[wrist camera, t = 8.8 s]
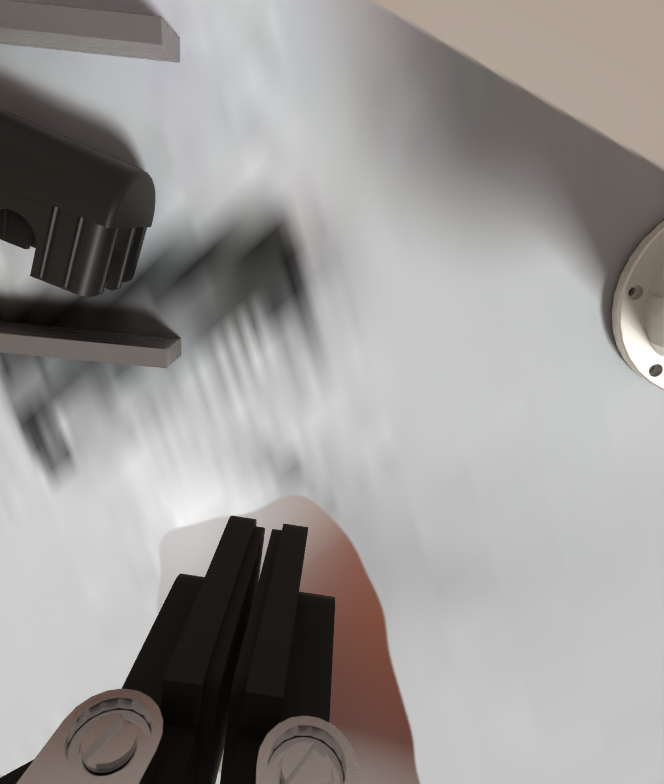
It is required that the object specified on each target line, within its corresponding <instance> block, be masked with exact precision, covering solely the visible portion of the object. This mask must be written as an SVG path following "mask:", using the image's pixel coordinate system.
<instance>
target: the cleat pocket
mask: <svg viewBox="0 0 664 784" xmlns="http://www.w3.org/2000/svg"><path fill="white" fill-rule="evenodd" d="M0 43H1V44H11V45H20V46H29V47H39V48H48V49H58V50H67V51H77V52H86V53H95V54H105V55H114V56H124V57H133V58H142V59H152V60H161V61H171V62H180V37H179V36H178V35H177V34H176V33H175V32H174V31H173V29H172V28H171V27H170V26H169V25H168V24H167V23H166V22H165V20H164V19H163V18H162V17H158V16H149V15H140V14H130V13H121V12H112V11H103V10H93V9H84V8H75V7H65V6H56V5H47V4H38V3H28V2H19V1H10V0H0ZM0 352H3V353H14V354H24V355H35V356H45V357H56V358H66V359H76V360H87V361H97V362H108V363H118V364H129V365H139V366H150V367H160V368H167V367H168V366H169V365H171V364H172V363H173V362H174V361H175V360H176V359H178V358H179V357H180V356H181V338H172V337H161V336H151V335H141V334H130V333H120V332H110V331H99V330H89V329H79V328H68V327H58V326H48V325H37V324H27V323H17V322H6V321H0Z"/></svg>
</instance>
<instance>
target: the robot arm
mask: <svg viewBox="0 0 664 784" xmlns="http://www.w3.org/2000/svg"><path fill="white" fill-rule="evenodd" d="M630 289H631V292H630V293H629V290H630ZM612 327H613V334H614V337H615V341H616V344H617V348H618V349H619V351H620V353H621V355H622V357H623V359H624V360H625V362H626V363H627V364H628V365H629V366H630V368H631V369H632V370H633V371H634V372H635V373H636V374H637V375H639V376H640V377H642V378H643V379H644V380H646V381H647V382H649V383H651V384H653V385H655V386H657V387H659V388H661V389H663V390H664V221H663V222H661V223H660V224H659V225H658V226H657V227H655V228H654V229H653V230H652V231H651V232H650V233H649V234H648V235H647V236H646V237H645V238H644V239H643V240H642V242H641V243H640V244H639V246H638V247H637V248H636V250H635V251H634V252H633V254H632V255H631V256H630V258H629V260H628V262H627V264H626V266H625V268H624V269H623V271H622V273H621V275H620V278H619V281H618V284H617V287H616V290H615V293H614V299H613V307H612ZM264 533H265V528H263V527H256V519H250V518H243V517H237V516H230V518H229V520H228V523H227V525H226V528H225V530H224V532H223V535H222V537H221V540H220V542H219V545H218V547H217V549H216V552H215V554H214V557H213V559H212V561H211V564H210V566H209V569H208V571H207V574H206V576H205V577H199V576H192V575H186V574H180V575H178V577H177V578H176V580H175V582H174V584H173V586H172V588H171V590H170V592H169V594H168V596H167V598H166V600H165V602H164V604H163V606H162V608H161V610H160V612H159V614H158V616H157V618H156V620H155V622H154V624H153V626H152V628H151V630H150V632H149V634H148V636H147V638H146V641H145V643H144V645H143V647H142V649H141V651H140V653H139V655H138V657H137V659H136V661H135V663H134V665H133V667H132V669H131V671H130V673H129V675H128V677H127V679H126V681H125V683H124V685H123V687H122V689H116V690H108V691H105V692H103V693H100V694H97V695H95V696H92V697H90V698H89V699H87V700H86V701H84V702H83V703H81V704H80V705H78V706H77V707H76V708H75V709H74V710H73V711H72V712H71V713H70V714H69V715H68V716H67V717H66V718H65V719H64V721H63V722H62V723H61V725H60V726H59V727H58V729H57V730H56V731H55V733H54V734H53V735H52V737H51V738H50V739H49V741H48V742H47V743H46V745H45V746H44V747H43V749H42V750H41V751H40V753H39V754H38V755H37V757H36V758H35V759H34V760H32V761H30V762H28V763H27V764H25V765H23V766H21V767H19V768H18V769H16V770H14V771H12V772H10V773H8V774H7V775H5V776H3V777H1V778H0V784H215V782H216V778H217V774H218V770H219V766H220V762H221V758H222V753H223V750H224V754H223V762H222V771H221V780H220V784H360V783H359V776H358V769H357V763H356V759H355V756H354V753H353V749H352V747H351V745H350V744H349V742H348V740H347V739H346V737H345V736H344V734H343V733H342V732H340V731H339V730H338V729H337V728H336V727H335V726H334V725H333V724H331V723H329V717H330V696H331V675H332V655H333V634H334V614H335V598H334V597H331V596H324V595H317V594H311V593H304V592H299V587H300V579H301V574H302V567H303V560H304V553H305V546H306V540H307V533H308V527H302V526H296V525H289V524H283V528H282V530H276V529H272V532H271V536H270V540H269V544H268V548H267V552H266V556H265V559H264V563H263V567H262V571H261V574H260V579H259V573H260V564H261V557H262V548H263V541H264ZM258 581H259V582H258Z"/></svg>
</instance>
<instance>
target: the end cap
mask: <svg viewBox="0 0 664 784" xmlns="http://www.w3.org/2000/svg"><path fill="white" fill-rule="evenodd" d="M154 210H155V187H154V183H153V180H152V178H151V177H150V175H149V174H148V173H147V172H145V171H143V170H141V169H139V168H137V167H134V166H132V165H130V164H127V163H125V162H123V161H120V160H118V159H116V158H113V157H111V156H109V155H106V154H104V153H102V152H99V151H97V150H95V149H92V148H90V147H88V146H85V145H83V144H81V143H78V142H76V141H74V140H71V139H69V138H67V137H65V136H62V135H60V134H58V133H55V132H53V131H51V130H48V129H46V128H44V127H41V126H39V125H37V124H34V123H32V122H30V121H27V120H25V119H23V118H20V117H18V116H16V115H13V114H11V113H9V112H6V111H4V110H2V109H0V239H1V240H4V241H6V242H9V243H11V244H14V245H16V246H19V247H21V248H24V249H30V246H31V247H34V248H36V250H35V255H34V260H33V265H32V270H31V274H30V276H32V277H34V278H37V279H40V280H42V281H45V282H47V283H50V284H52V285H55V286H57V287H60V288H62V289H65V290H67V291H70V292H72V293H75V294H78V295H81V296H86V297H93V296H96V295H99V294H102V293H103V291H104V288H107V289H109V290H115V289H118V288H120V287H121V284H122V282H127V281H129V280H131V279H132V278H133V276H134V273H135V270H136V266H137V262H138V259H139V255H140V251H141V248H142V244H143V240H144V237H145V233H146V230H147V227H151V225H152V221H153V216H154ZM106 282H107V283H106ZM105 284H106V287H105Z"/></svg>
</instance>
